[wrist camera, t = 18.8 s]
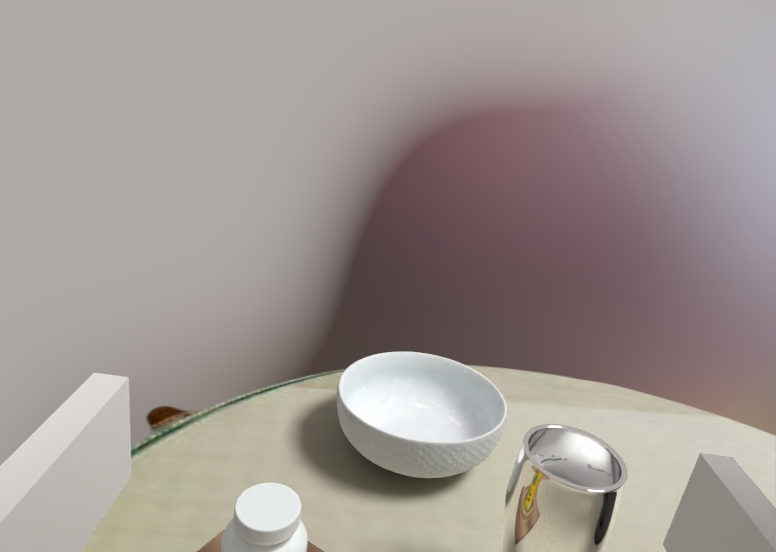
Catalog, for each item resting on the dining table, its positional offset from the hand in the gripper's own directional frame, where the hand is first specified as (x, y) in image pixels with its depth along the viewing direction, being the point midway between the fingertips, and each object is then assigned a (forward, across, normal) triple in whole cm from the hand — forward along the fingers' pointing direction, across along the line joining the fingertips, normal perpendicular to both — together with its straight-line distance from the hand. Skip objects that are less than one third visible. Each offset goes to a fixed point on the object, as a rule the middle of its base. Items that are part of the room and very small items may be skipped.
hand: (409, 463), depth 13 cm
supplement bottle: (+16, -6, -27) cm, 32 cm away
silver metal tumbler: (+19, +13, -28) cm, 37 cm away
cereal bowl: (+38, +5, -28) cm, 47 cm away
